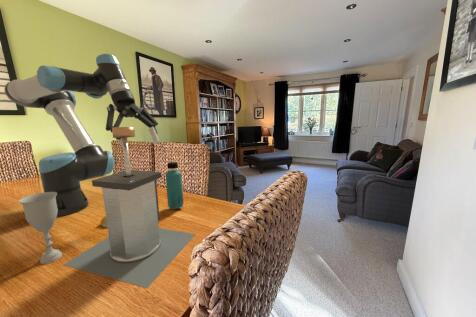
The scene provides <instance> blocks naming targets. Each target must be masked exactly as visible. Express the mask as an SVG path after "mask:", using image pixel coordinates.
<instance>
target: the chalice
mask: <svg viewBox="0 0 476 317" xmlns="http://www.w3.org/2000/svg"><path fill="white" fill-rule="evenodd" d="M56 195H57V192H44V191H43V192H39V193H34V194H31V195H28V196H24V197H22V198H20V199H19V200H18V202H19V203H20V204H21V205H22V207H23V212H24V217H25V220H26V221H27V223H28V224H29V225H30V226H32V228H33V229H34V230H36V232H40V233H42V232H43V238H42V240H44V241H45V242H44V245H43V246H44V247H46V251H44V253H42V255H41V256H40V260H39V261H40V264H44V265H45V264H50V263H53V262H56V261H57V260H59V259H60V258H62V256H63V253H62V252H61V251H60V249H58V248H53V246H52V245H53V243H54V241H52V240H51V238H52V235H51V234H50V232H49V231H50V230H51V229H52V228H53V227H54V224H55V221H56V220H57V217H58V216H57V213H58V209H57V204H56Z"/></svg>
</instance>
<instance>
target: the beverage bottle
mask: <svg viewBox="0 0 476 317" xmlns="http://www.w3.org/2000/svg"><path fill="white" fill-rule="evenodd" d="M178 168H179V164H178V162H177V161H171V162H170V161H169V162H168V163H167V169H170V170H167V171H166V172H165V174H164V175H165V184H166V199H167V207H168V208H169V209H180V208H182V207H183V206H184V199H185V198H184V193H183V191H184V190H183V178H182V172H181V171H180V170H179V169H178Z"/></svg>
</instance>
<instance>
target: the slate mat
mask: <svg viewBox="0 0 476 317" xmlns="http://www.w3.org/2000/svg"><path fill="white" fill-rule="evenodd" d="M196 235H197V234H195V233H191V232H184V231H180V230H174V229H167V228H162V227H161V228H160V227H159V236H160V238H161V245H160V247H159V249H158V250H157V251H156V252H155V253H154V254H152V255H151V256H149V257H148V258H145V259H143V260H141V261H137V262H133V263H117V262H115V261H113V260H112V259H111V255H110V251H111V248H110V241H109V236H107V237H105V238H104V239H102V240H101V241H100V242H98V243H96V244H94V245H93V246H91V247H89V248H88V249H86V250H85V251H83V252H82V253H80V254H78V255H77V256H75V257H73V258H72V259H70V260H68V261H67V262H65V263H63V266H66V267H69V268H73V269H77V270H79V271H80V270H81V271H84V272H87V273H91V274H94V275H98V276H103V277H106V278H109V279H112V280H116V281H120V282H124V283H128V284H131V285H134V286H138V287H141V288H146V289H148V288H149V287H150V286H151V285H152V283H154V281H155V280H156V279H157V278H158V277H159V276H160V275H161V274H162V272H163V271H165V269H166V268H167V267H169V265H170V264H171V263H172V262H173V260H174V259H175V258H176V257H177V256H178V255H179V254H180V252H182V250H183V249H184V248H185V247H186V246H187V245H188V244H189V243H190V242H191V241H192V239H193V238H195V236H196Z"/></svg>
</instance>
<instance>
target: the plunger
mask: <svg viewBox="0 0 476 317" xmlns="http://www.w3.org/2000/svg"><path fill="white" fill-rule="evenodd" d="M111 134H112V138H113V139H116V138H122V144H123V149H122V152H123V160H124V171H126V177H128V178H129V177H131V170H132V169H131V162H130V153H129V143H128V138H135V137H136V133H135V126H119V127H112V132H111Z"/></svg>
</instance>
